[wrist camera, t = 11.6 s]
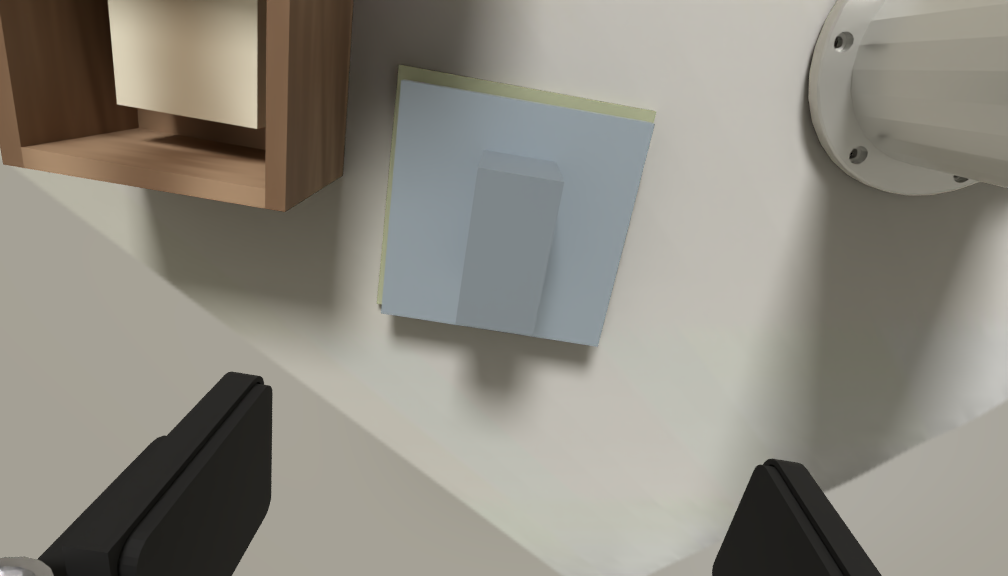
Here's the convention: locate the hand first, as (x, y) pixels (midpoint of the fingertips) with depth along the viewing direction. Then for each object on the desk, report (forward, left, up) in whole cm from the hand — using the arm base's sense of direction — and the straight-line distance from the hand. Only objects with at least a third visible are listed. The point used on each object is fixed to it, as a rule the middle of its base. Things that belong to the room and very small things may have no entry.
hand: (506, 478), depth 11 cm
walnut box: (+15, -6, -21) cm, 26 cm away
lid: (0, 0, -21) cm, 21 cm away
